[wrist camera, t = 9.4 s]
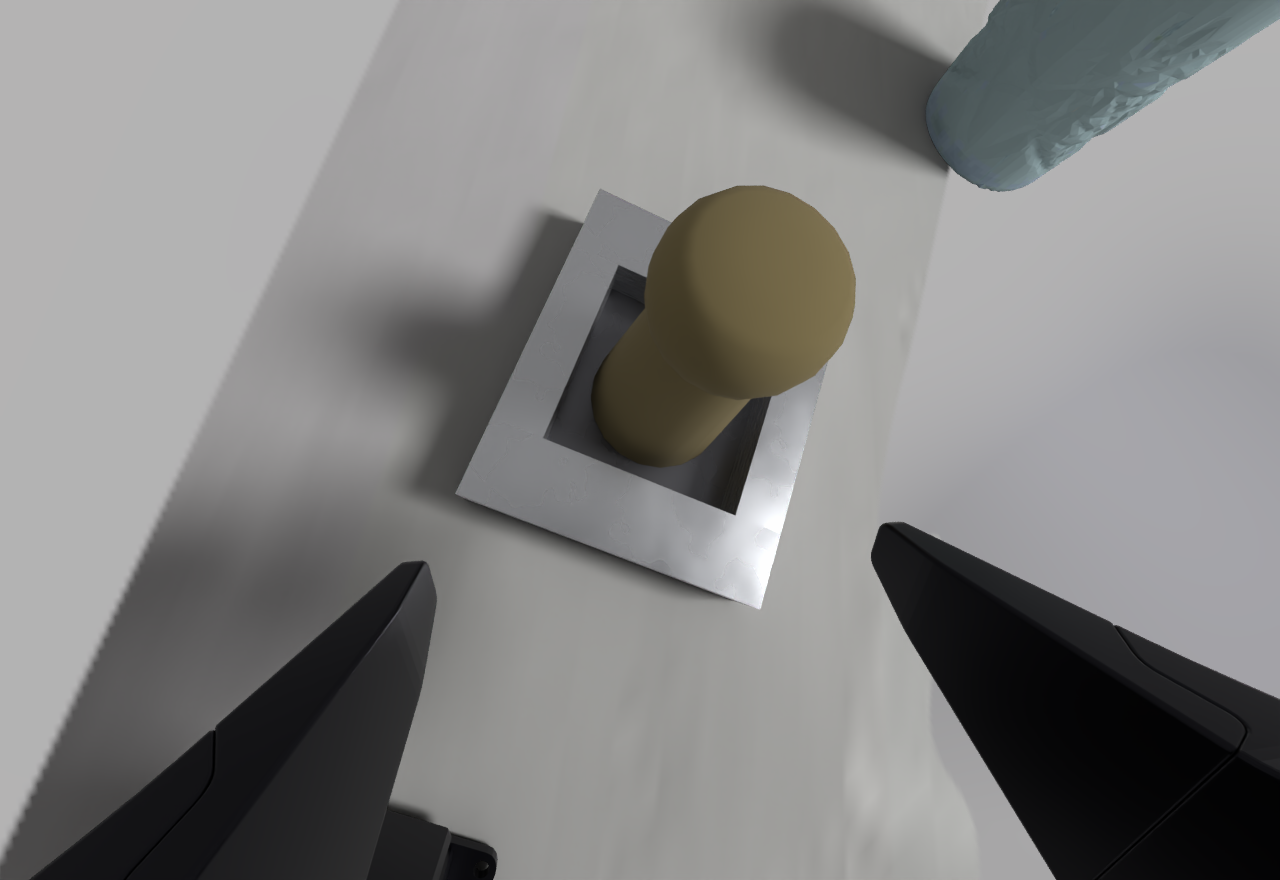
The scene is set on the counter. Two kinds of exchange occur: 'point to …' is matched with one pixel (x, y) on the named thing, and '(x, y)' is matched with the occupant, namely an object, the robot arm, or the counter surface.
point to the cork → (724, 322)
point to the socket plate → (611, 483)
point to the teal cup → (1071, 76)
